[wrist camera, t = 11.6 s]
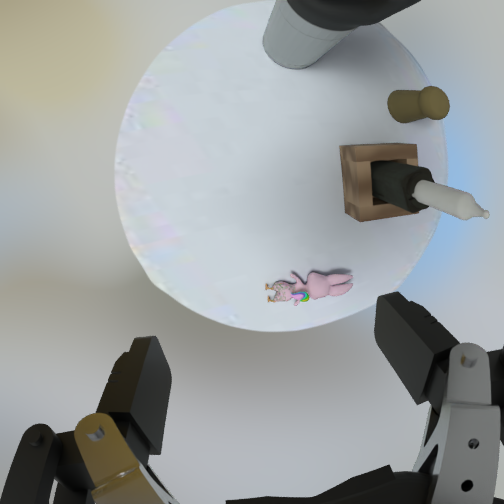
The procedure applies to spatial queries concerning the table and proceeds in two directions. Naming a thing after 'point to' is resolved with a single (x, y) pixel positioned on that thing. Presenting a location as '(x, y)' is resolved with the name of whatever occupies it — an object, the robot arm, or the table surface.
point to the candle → (420, 190)
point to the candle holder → (359, 178)
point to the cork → (418, 104)
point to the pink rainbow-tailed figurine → (311, 287)
